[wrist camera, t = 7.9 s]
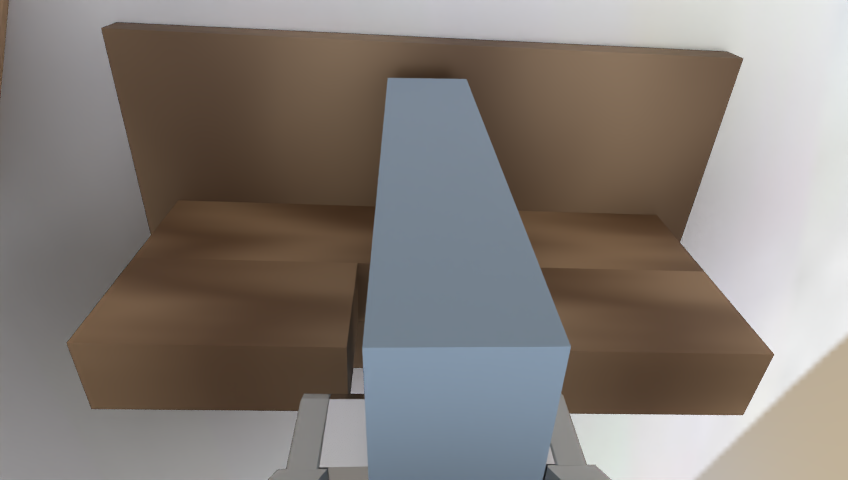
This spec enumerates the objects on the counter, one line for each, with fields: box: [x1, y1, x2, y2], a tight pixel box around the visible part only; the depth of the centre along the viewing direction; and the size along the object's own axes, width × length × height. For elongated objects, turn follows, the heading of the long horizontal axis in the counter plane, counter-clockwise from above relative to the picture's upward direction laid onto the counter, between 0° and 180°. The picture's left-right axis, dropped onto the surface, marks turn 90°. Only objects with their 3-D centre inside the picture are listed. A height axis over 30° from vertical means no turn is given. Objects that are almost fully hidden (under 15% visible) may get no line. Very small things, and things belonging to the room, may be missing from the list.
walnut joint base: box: [67, 22, 774, 415], centre depth 14 cm, size 16×11×7 cm
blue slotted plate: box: [362, 78, 571, 480], centre depth 11 cm, size 10×2×9 cm, turn 179°
